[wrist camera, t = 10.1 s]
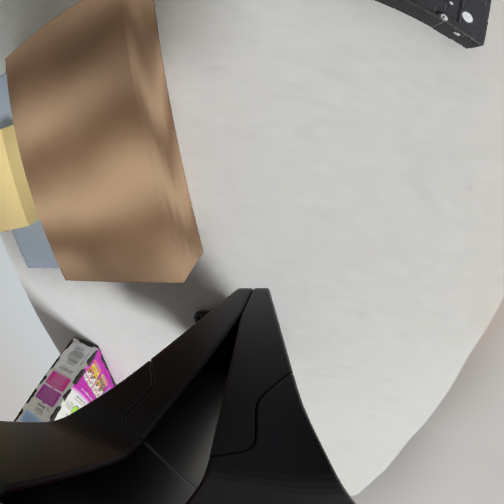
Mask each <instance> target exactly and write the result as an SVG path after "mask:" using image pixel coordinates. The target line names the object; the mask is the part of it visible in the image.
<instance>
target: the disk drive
mask: <svg viewBox="0 0 504 504" xmlns="http://www.w3.org/2000/svg"><path fill="white" fill-rule="evenodd" d="M376 1H378V2H380V3H383V4H385V5H388V6H390V7H392V8H395V9H397V10H399V11H401V12H403V13H405V14H407V15H409V16H412V17H413V18H416V19H417V20H419V21H421V22H423V23H425V24H427V25H429V26H430V27H432V28H433V29H435V30H437V31H438V32H440V33H441V34H443V35H445V36H447V37H448V38H450V39H453V40H454V41H456V42H457V43H459V44H461V45H462V46H463V47H465V48H473V47H478V46H483V44H484V41H485V35H486V30H487V25H488V21H487V20H488V17H489V11H490V4H491V0H376Z"/></svg>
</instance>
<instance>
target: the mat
mask: <svg viewBox="0 0 504 504" xmlns="http://www.w3.org/2000/svg"><path fill="white" fill-rule="evenodd" d="M11 125H14V124H13V118H12V113H11V106H10V100H9V92H8V84H7V73H5V74H4V75H3V76H2V77H1V78H0V130H1V129H2V128H5V127H8V126H11ZM12 232H13V234H14V237H15V239H16V242H17V244H18V246H19V249H20V251H21V253H22V256H23V258H24V260H25V262H26V264H27V267H28V268H60V267H59V265H58V263H57V261H56V258H55V256H54V254H53V251H52V249H51V247H50V244H49V242H48V239H47V237H46V234H45V232H44V229H43V226H42V224H41V221H40V219H38V220H37V221H35V222H34V223H33V224H31V225H30V226H26V227H22V228H17V229H12Z"/></svg>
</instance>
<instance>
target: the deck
mask: <svg viewBox="0 0 504 504" xmlns="http://www.w3.org/2000/svg"><path fill="white" fill-rule="evenodd" d="M5 60H6V73H7V84H8V92H9V100H10V106H11V113H12V118H13V124H14V129H15V134H16V139H17V143H18V148H19V152H20V156H21V160H22V164H23V168H24V171H25V175H26V178H27V182H28V185H29V188H30V192H31V195H32V198H33V201H34V204H35V207H36V210H37V213H38V216H39V218H40V221H41V224H42V226H43V229H44V232H45V234H46V237H47V239H48V242H49V244H50V247H51V249H52V251H53V254H54V256H55V258H56V261H57V263H58V265H59V267H60V270H61V272H62V274H63V276H64V278H65V280H72V281H104V282H158V283H184V282H185V280H186V278H187V277H188V275H189V274H190V272H191V271H192V269H193V267H194V266H195V264H196V263H197V261H198V260H199V258H200V256H201V255H202V253H203V249H202V245H201V241H200V237H199V233H198V229H197V225H196V221H195V217H194V212H193V208H192V204H191V200H190V195H189V191H188V187H187V182H186V178H185V173H184V169H183V164H182V160H181V155H180V150H179V146H178V141H177V136H176V131H175V126H174V121H173V116H172V111H171V106H170V100H169V95H168V89H167V84H166V78H165V73H164V67H163V61H162V55H161V49H160V42H159V36H158V29H157V22H156V15H155V8H154V0H80V1H79V2H77V3H76V4H74V5H73V6H71V7H70V8H68V9H67V10H65V11H64V12H62V13H61V14H59V15H58V16H57V17H55V18H54V19H52V20H51V21H50V22H48V23H47V24H46V25H44V26H43V27H42V28H41V29H39V30H38V31H37V32H36V33H34V34H33V35H32V36H31V37H29V38H28V39H27V40H26V41H25V42H24V43H22V44H21V45H20V46H19V47H18V48H17V49H16V50H14V51H13V52H12V53H11V54H10V55H9V56H8V57H7V58H6V59H5Z"/></svg>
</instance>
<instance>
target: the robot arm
mask: <svg viewBox="0 0 504 504" xmlns="http://www.w3.org/2000/svg"><path fill="white" fill-rule="evenodd" d="M200 317H201V318H200ZM194 319H195V321H196V324H194V325H193V326H192V327H191V328H189V329H188V330H187V331H186V332H185V333H183V334H182V335H181V336H180V337H178V338H177V339H176V340H175V341H173V342H172V343H171V344H170V345H168V346H167V347H166V348H165V349H163V350H162V351H161V352H160V353H158V354H157V355H156V356H155V357H153V358H152V359H151V361H148V362H147V363H146V364H144V365H143V366H142V367H141V368H139V369H138V370H137V371H135V372H134V373H133V374H131V375H130V376H129V377H127V378H126V379H125V380H123V381H122V382H120V383H119V384H117V385H116V386H114V387H113V388H111V389H110V390H108V391H107V392H105V393H104V394H102V395H101V396H99V397H97V398H96V399H94V400H93V401H91V402H89V403H88V404H86V405H85V406H83V407H81V408H80V409H78V410H76V411H75V412H73V413H72V414H70V415H68V416H66V417H64V418H61V419H58V420H55V421H49V422H7V421H0V504H356V503H355V502H354V501H353V499H352V498H351V497H350V495H349V494H348V493H347V491H346V490H345V488H344V487H343V485H342V483H341V482H340V480H339V478H338V477H337V475H336V473H335V471H334V469H333V467H332V465H331V463H330V461H329V459H328V457H327V455H326V453H325V451H324V449H323V447H322V445H321V443H320V441H319V439H318V437H317V435H316V433H315V431H314V429H313V427H312V425H311V422H310V420H309V418H308V415H307V413H306V411H305V409H304V406H303V403H302V400H301V397H300V394H299V391H298V388H297V385H296V381H295V378H294V375H293V371H292V368H291V364H290V361H289V357H288V354H287V350H286V347H285V343H284V339H283V336H282V332H281V329H280V325H279V322H278V318H277V315H276V311H275V308H274V304H273V301H272V297H271V294H270V291H269V289H268V288H256V289H254V290H253V289H252V288H240V289H237V290H236V291H235V292H234V293H232V294H231V295H230V296H229V297H227V298H226V299H225V300H224V301H223V302H221V303H220V304H219V305H218V306H217V307H215V308H214V309H213V310H212V311H210V312H204V311H198V312H196V314H195V316H194Z"/></svg>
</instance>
